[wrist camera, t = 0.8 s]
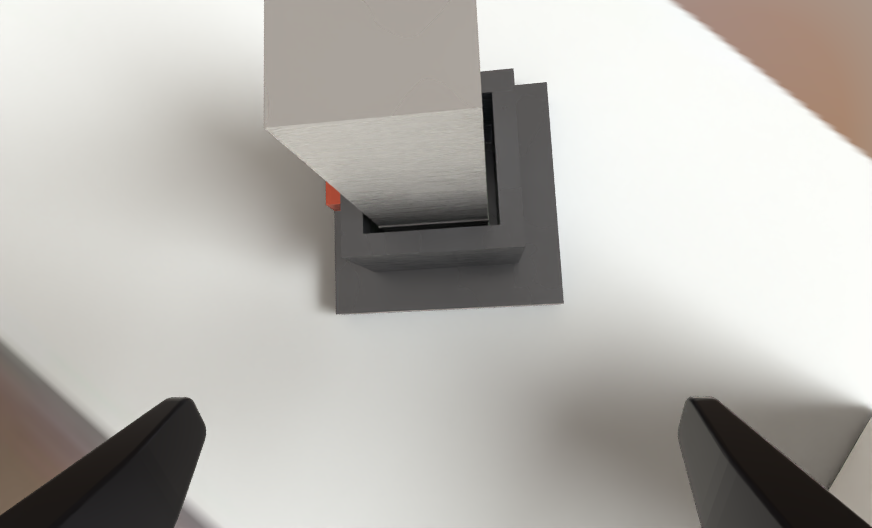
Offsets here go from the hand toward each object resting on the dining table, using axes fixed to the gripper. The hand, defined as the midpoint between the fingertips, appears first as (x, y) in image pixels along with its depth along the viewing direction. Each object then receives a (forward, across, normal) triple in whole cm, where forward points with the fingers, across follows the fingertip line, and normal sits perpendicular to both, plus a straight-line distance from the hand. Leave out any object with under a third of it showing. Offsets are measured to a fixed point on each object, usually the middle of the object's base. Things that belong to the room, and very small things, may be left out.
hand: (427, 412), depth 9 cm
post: (+14, +1, +2) cm, 14 cm away
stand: (+15, +1, +3) cm, 15 cm away
